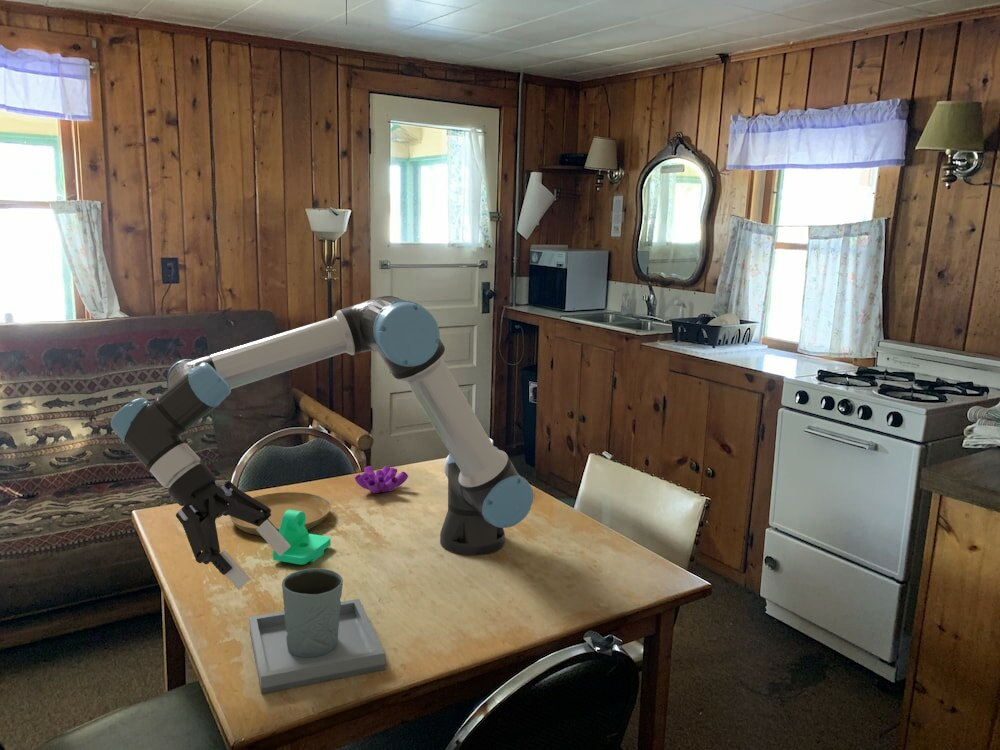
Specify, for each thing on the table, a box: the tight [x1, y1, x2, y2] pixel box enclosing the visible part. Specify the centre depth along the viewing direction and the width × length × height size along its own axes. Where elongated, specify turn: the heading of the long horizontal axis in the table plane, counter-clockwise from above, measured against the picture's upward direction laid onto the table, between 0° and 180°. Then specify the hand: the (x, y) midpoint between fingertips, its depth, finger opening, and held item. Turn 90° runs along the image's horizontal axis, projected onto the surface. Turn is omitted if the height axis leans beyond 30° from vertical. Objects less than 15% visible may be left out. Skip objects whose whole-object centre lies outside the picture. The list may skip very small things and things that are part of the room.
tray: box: [248, 598, 386, 695], centre depth 136 cm, size 20×20×3 cm
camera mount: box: [272, 510, 332, 566], centre depth 173 cm, size 12×8×10 cm, turn 162°
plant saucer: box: [228, 491, 332, 537], centre depth 193 cm, size 24×24×3 cm
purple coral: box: [354, 465, 409, 494], centre depth 214 cm, size 11×15×10 cm
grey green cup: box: [281, 567, 344, 658], centre depth 135 cm, size 10×10×12 cm
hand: (266, 567), depth 135 cm, fingers open, 13 cm apart
